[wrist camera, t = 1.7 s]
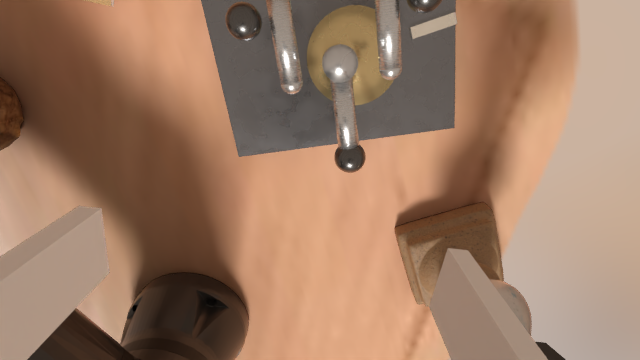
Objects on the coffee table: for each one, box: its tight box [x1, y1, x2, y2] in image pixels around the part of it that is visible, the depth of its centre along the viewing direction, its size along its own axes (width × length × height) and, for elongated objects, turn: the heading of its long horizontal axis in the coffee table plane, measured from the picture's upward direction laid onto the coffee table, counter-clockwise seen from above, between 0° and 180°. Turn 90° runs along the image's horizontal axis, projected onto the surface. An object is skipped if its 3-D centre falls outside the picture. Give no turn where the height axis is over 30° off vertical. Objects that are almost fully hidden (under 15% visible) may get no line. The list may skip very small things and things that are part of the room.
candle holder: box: [395, 202, 532, 336], centre depth 30 cm, size 11×11×24 cm
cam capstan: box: [225, 0, 442, 173], centre depth 27 cm, size 14×14×9 cm
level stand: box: [201, 0, 457, 157], centre depth 31 cm, size 22×16×4 cm
